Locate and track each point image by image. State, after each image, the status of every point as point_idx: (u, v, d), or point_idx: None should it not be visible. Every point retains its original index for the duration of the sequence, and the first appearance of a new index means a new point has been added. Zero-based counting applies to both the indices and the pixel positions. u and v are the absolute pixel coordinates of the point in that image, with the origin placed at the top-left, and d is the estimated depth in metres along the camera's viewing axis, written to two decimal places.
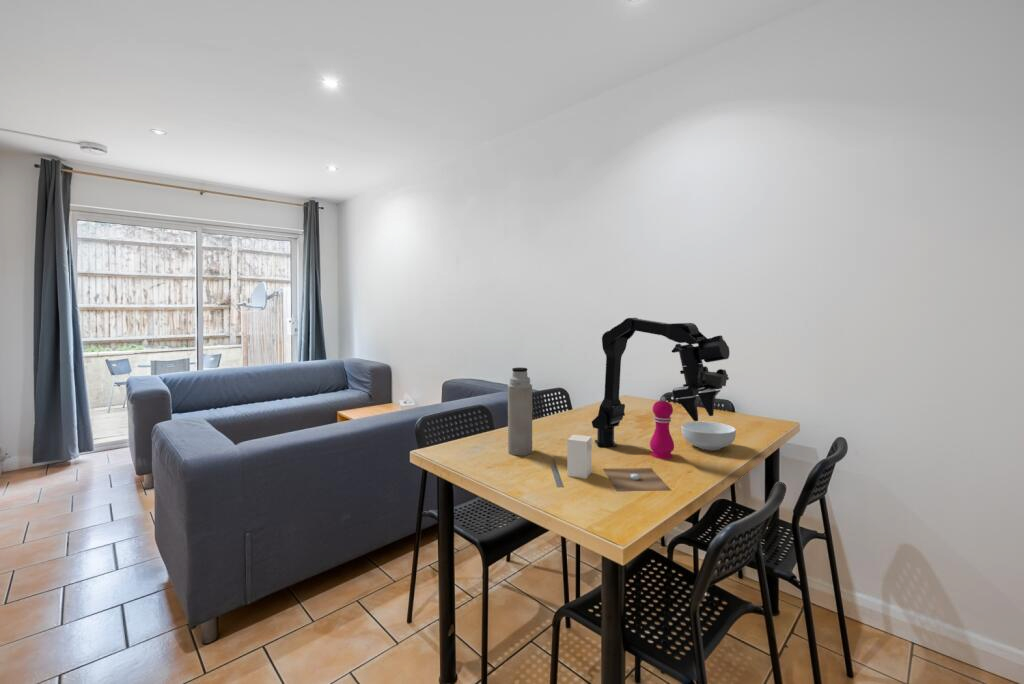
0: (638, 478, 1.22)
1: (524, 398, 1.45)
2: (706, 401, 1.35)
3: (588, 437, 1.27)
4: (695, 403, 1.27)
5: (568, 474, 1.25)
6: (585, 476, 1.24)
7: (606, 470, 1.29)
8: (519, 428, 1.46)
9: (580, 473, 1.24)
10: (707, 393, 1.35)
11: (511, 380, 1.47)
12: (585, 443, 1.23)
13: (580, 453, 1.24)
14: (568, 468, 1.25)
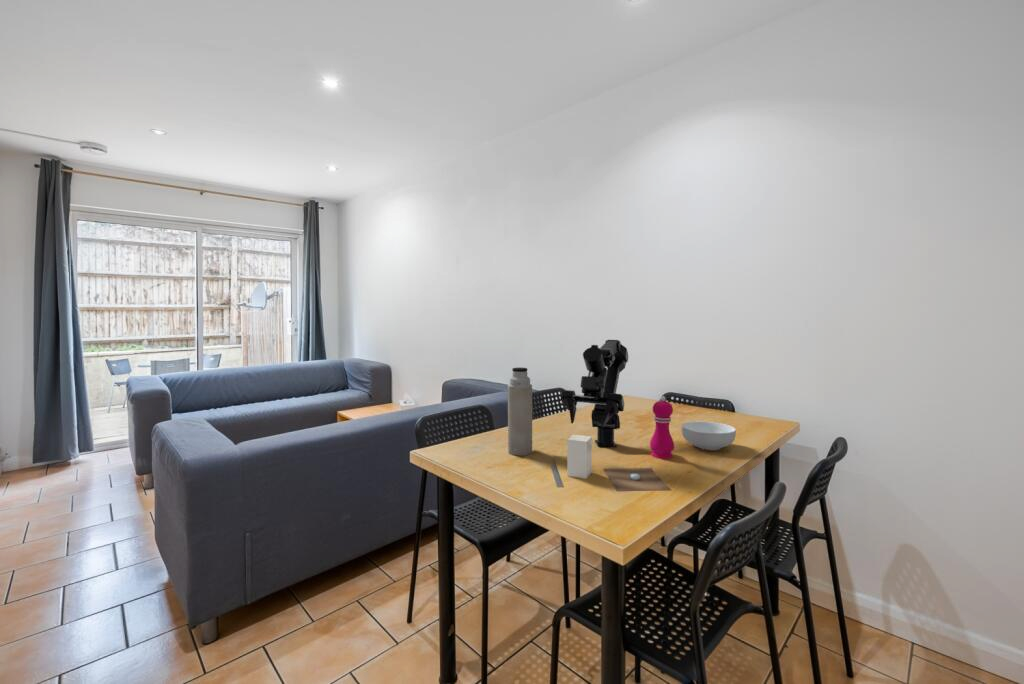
0: (638, 478, 1.22)
1: (524, 398, 1.45)
2: None
3: (588, 437, 1.27)
4: (570, 405, 1.38)
5: (568, 474, 1.25)
6: (585, 476, 1.24)
7: (606, 470, 1.29)
8: (519, 428, 1.46)
9: (580, 473, 1.24)
10: None
11: (511, 380, 1.47)
12: (585, 443, 1.23)
13: (580, 453, 1.24)
14: (568, 468, 1.25)
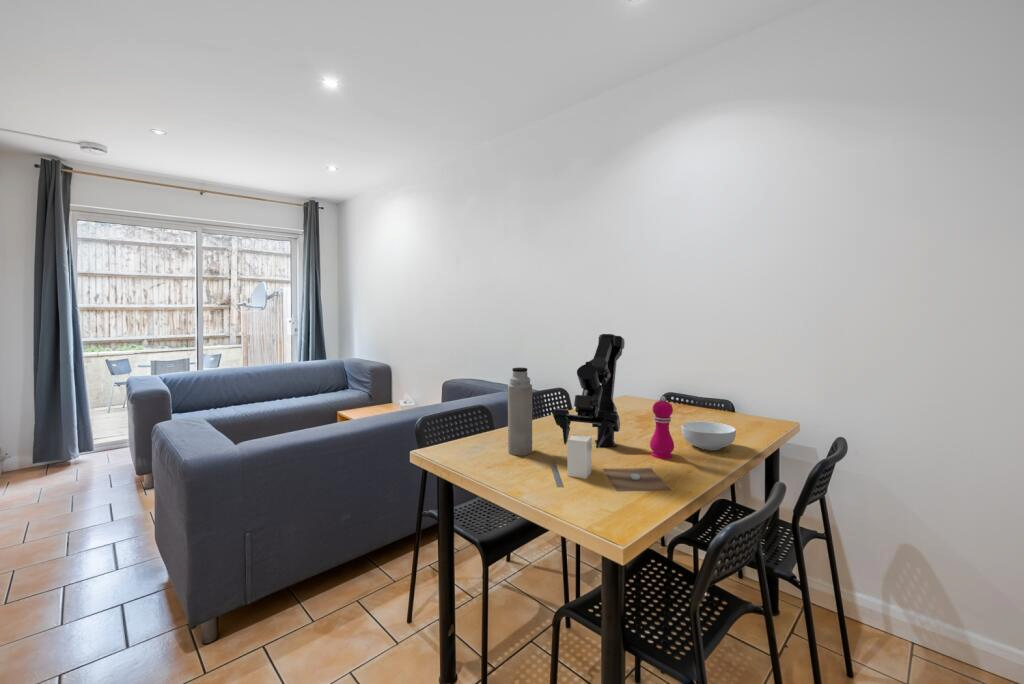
0: (638, 478, 1.22)
1: (524, 398, 1.45)
2: None
3: (588, 437, 1.27)
4: (563, 425, 1.32)
5: (568, 474, 1.25)
6: (585, 476, 1.24)
7: (606, 470, 1.29)
8: (519, 428, 1.46)
9: (580, 473, 1.24)
10: None
11: (511, 380, 1.47)
12: (585, 443, 1.23)
13: (580, 453, 1.24)
14: (568, 468, 1.25)
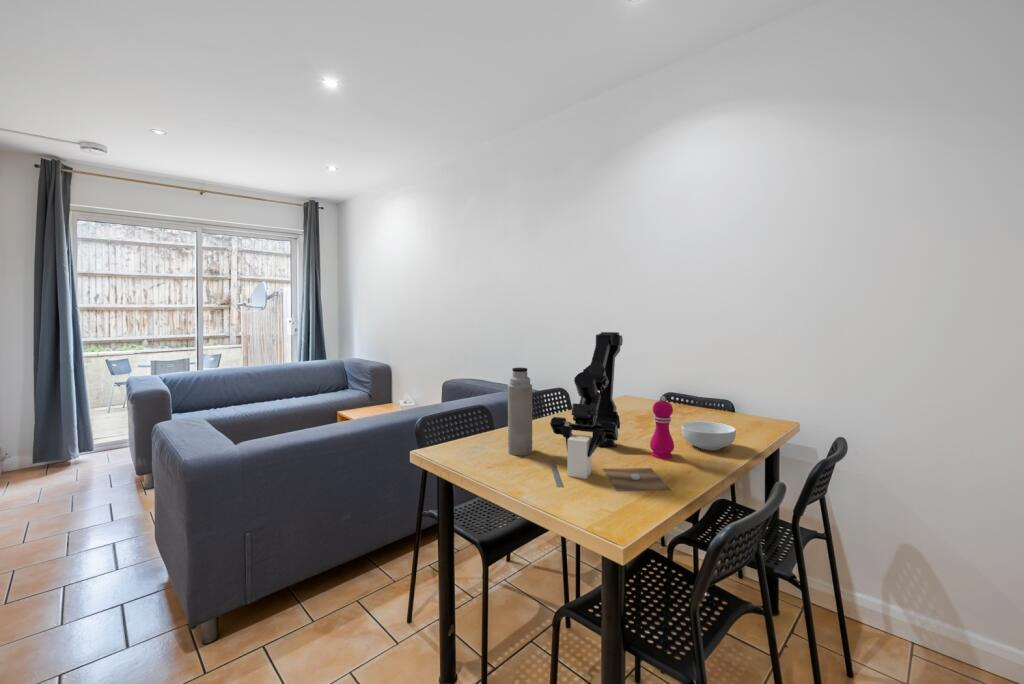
0: (638, 478, 1.22)
1: (524, 398, 1.45)
2: None
3: (588, 437, 1.27)
4: (567, 434, 1.29)
5: (568, 474, 1.25)
6: (585, 476, 1.24)
7: (606, 470, 1.29)
8: (519, 428, 1.46)
9: (580, 473, 1.24)
10: None
11: (511, 380, 1.47)
12: (585, 443, 1.23)
13: (580, 453, 1.24)
14: (568, 468, 1.25)
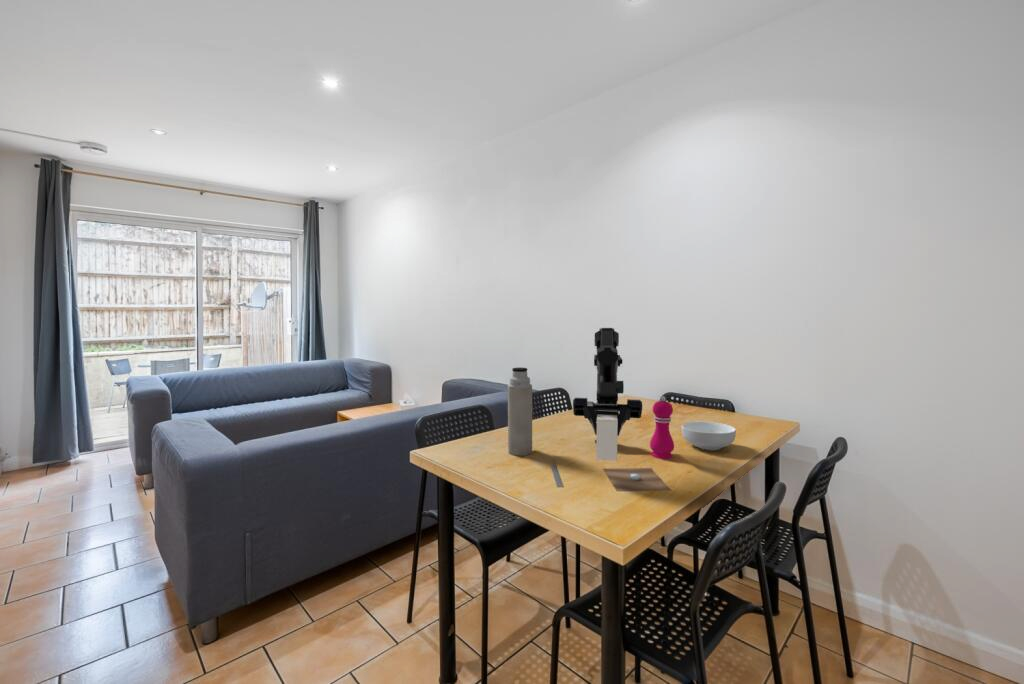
0: (638, 478, 1.22)
1: (524, 398, 1.45)
2: None
3: (614, 416, 1.24)
4: (592, 415, 1.25)
5: (597, 455, 1.22)
6: (615, 455, 1.21)
7: (606, 470, 1.29)
8: (519, 428, 1.46)
9: (610, 453, 1.21)
10: None
11: (511, 380, 1.47)
12: (616, 422, 1.20)
13: (610, 432, 1.20)
14: (597, 449, 1.21)
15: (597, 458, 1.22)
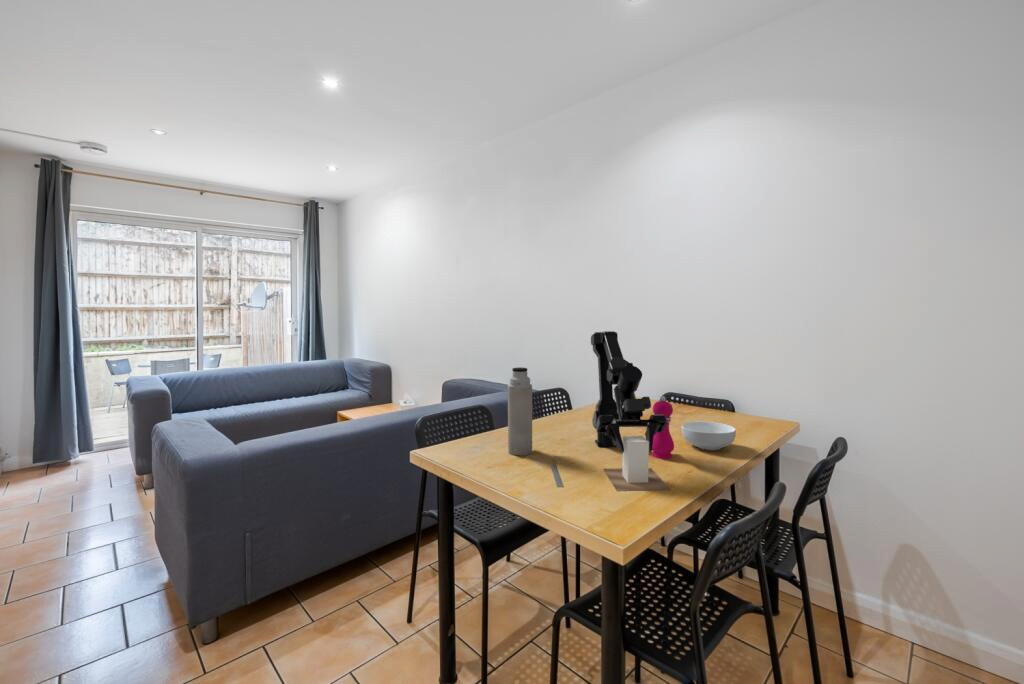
0: None
1: (524, 398, 1.45)
2: (648, 438, 1.24)
3: (641, 437, 1.24)
4: (617, 432, 1.23)
5: (629, 478, 1.20)
6: (647, 477, 1.20)
7: (606, 470, 1.29)
8: (519, 428, 1.46)
9: (641, 475, 1.20)
10: (647, 429, 1.25)
11: (511, 380, 1.47)
12: (647, 443, 1.20)
13: (642, 454, 1.20)
14: (629, 472, 1.20)
15: (629, 481, 1.20)
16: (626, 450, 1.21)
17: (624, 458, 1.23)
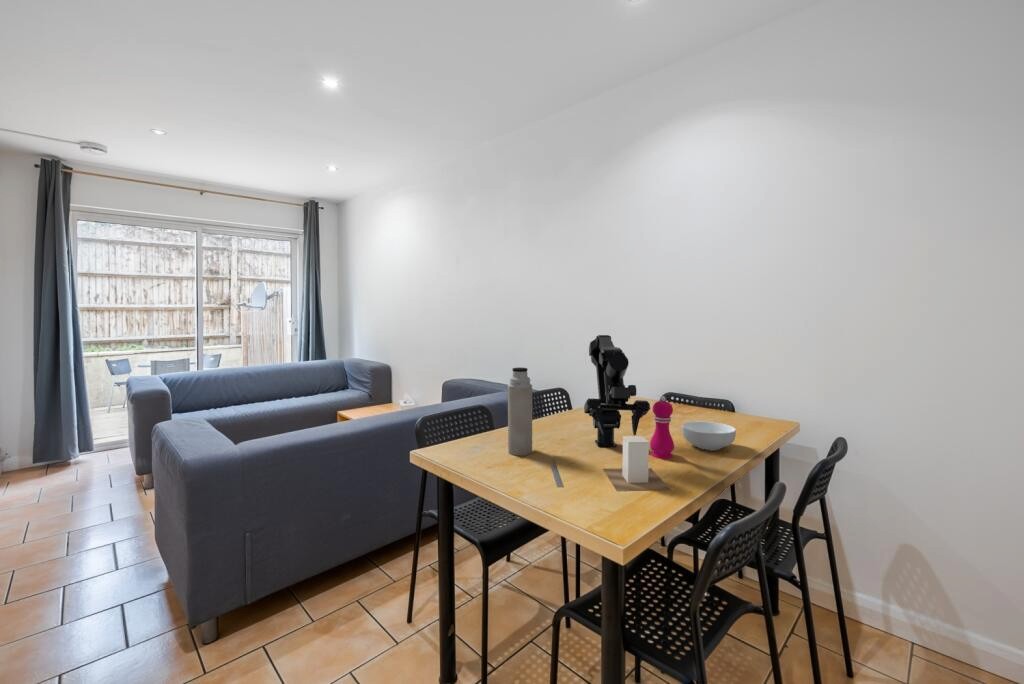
0: None
1: (524, 398, 1.45)
2: (633, 422, 1.35)
3: (641, 437, 1.24)
4: (599, 415, 1.33)
5: (629, 478, 1.20)
6: (647, 477, 1.20)
7: (606, 470, 1.29)
8: (519, 428, 1.46)
9: (641, 475, 1.20)
10: (634, 413, 1.36)
11: (511, 380, 1.47)
12: (647, 443, 1.20)
13: (642, 454, 1.20)
14: (629, 472, 1.20)
15: (629, 481, 1.20)
16: (626, 450, 1.21)
17: (624, 458, 1.23)
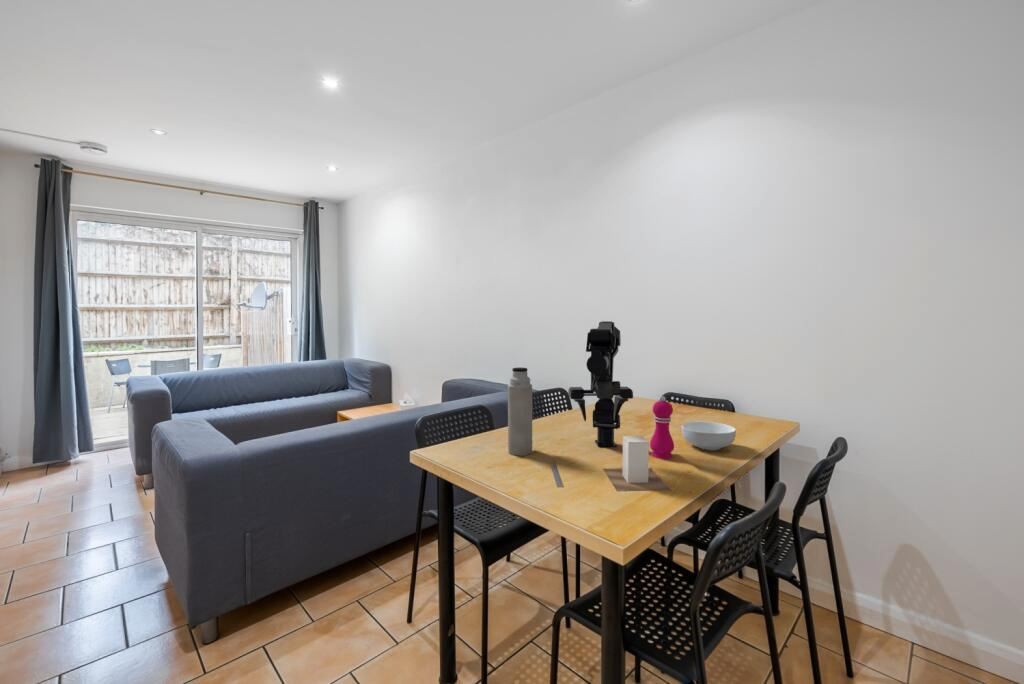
0: None
1: (524, 398, 1.45)
2: (615, 406, 1.39)
3: (641, 437, 1.24)
4: (582, 405, 1.37)
5: (629, 478, 1.20)
6: (647, 477, 1.20)
7: (606, 470, 1.29)
8: (519, 428, 1.46)
9: (641, 475, 1.20)
10: (616, 399, 1.39)
11: (511, 380, 1.47)
12: (647, 443, 1.20)
13: (642, 454, 1.20)
14: (629, 472, 1.20)
15: (629, 481, 1.20)
16: (626, 450, 1.21)
17: (624, 458, 1.23)
